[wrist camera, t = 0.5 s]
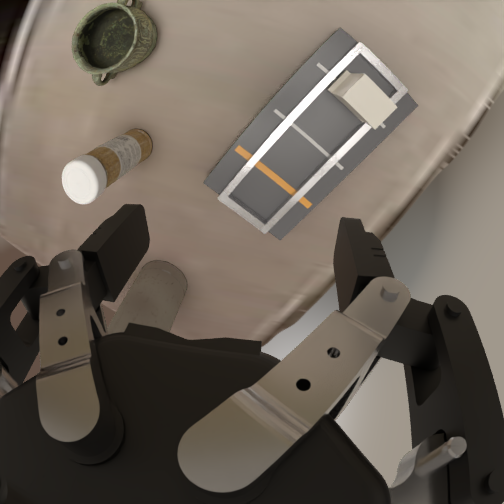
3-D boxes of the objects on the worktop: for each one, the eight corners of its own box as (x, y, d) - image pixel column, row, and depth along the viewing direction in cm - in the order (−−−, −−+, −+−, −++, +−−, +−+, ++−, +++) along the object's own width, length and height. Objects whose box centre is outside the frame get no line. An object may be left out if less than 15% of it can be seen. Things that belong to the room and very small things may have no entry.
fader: (345, 70, 26) (360, 69, 20) (378, 102, 27) (401, 111, 21) (326, 88, 27) (337, 93, 21) (360, 120, 28) (378, 133, 23)
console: (337, 30, 25) (342, 25, 22) (411, 103, 28) (422, 106, 25) (207, 177, 37) (200, 186, 34) (280, 232, 40) (279, 245, 37)
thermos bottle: (177, 305, 50) (120, 458, 27) (136, 284, 48) (61, 428, 25) (194, 276, 46) (131, 449, 23) (149, 251, 44) (58, 413, 21)
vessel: (117, -6, 23) (90, -13, 18) (177, 3, 24) (156, -8, 19) (89, 77, 30) (59, 82, 25) (143, 91, 31) (118, 97, 26)
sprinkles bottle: (119, 155, 36) (58, 196, 25) (127, 123, 33) (62, 155, 22) (148, 165, 36) (94, 212, 25) (157, 134, 34) (100, 169, 23)
